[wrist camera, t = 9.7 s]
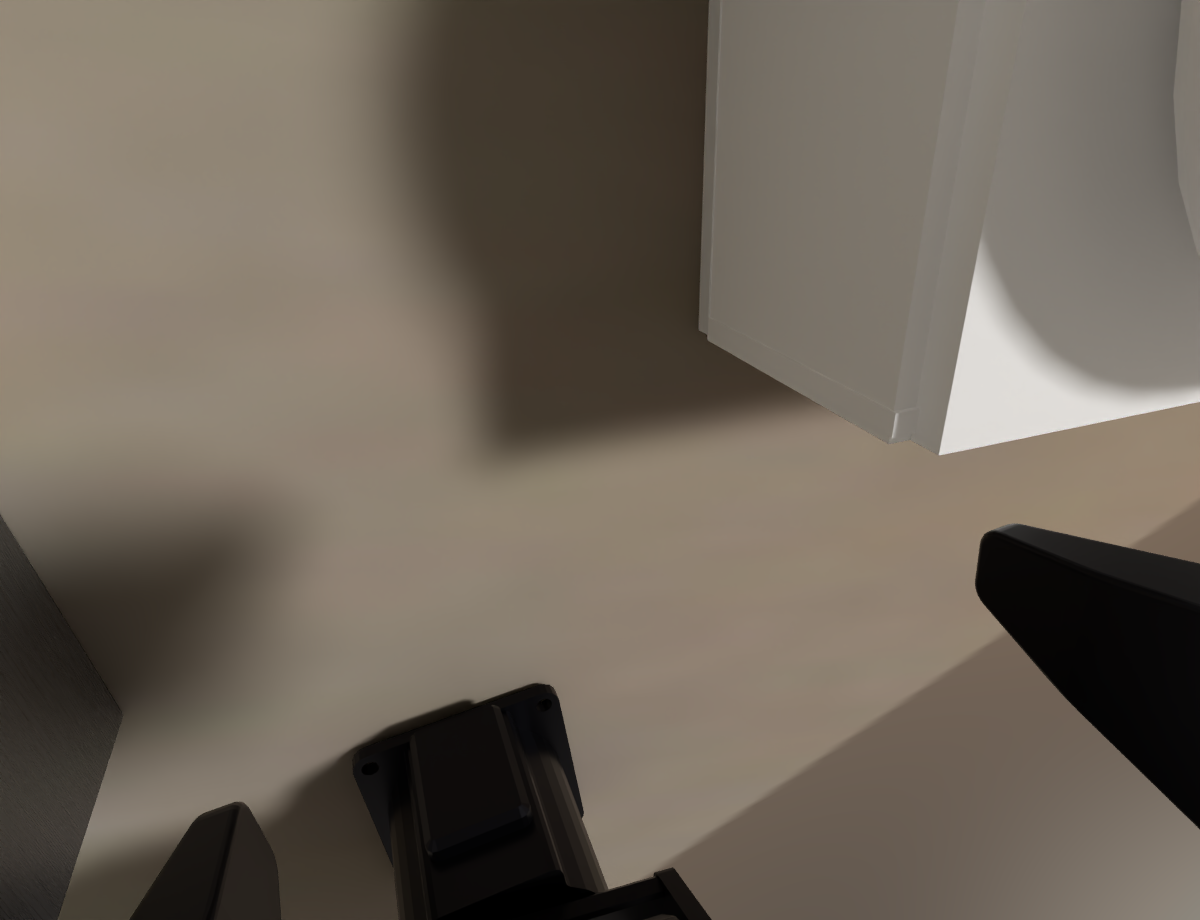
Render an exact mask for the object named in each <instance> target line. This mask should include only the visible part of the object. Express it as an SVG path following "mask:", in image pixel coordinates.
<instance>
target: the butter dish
mask: <svg viewBox="0 0 1200 920" xmlns="http://www.w3.org/2000/svg"><path fill="white" fill-rule="evenodd" d="M699 331H701V332H703V333H705V334H706V335H707V340H708V341H709V342H711V343H713V344H715V345H716V346H718V347H720V348H722V349H723V350H725V351H727V352H729V353H730V354H732V355H734V356H736V357H737V358H739V359H741V360H743V361H744V362H746V363H748V364H750V365H751V366H753V367H755V368H757V369H758V370H760V371H762V372H764V373H765V374H767V375H769V376H771V377H772V378H774V379H776V380H777V381H779V382H781V383H783V384H784V385H786V386H788V387H790V388H791V389H793V390H795V391H797V392H798V393H800V394H802V395H804V396H805V397H807V398H809V399H811V400H812V401H814V402H816V403H818V404H819V405H821V406H823V407H825V408H826V409H828V410H830V411H832V412H833V413H835V414H837V415H839V416H840V417H842V418H844V419H845V420H847V421H849V422H851V423H852V424H854V425H856V426H858V427H859V428H861V429H863V430H865V431H866V432H868V433H870V434H872V435H873V436H875V437H877V438H879V439H880V440H882V441H884V442H886V443H887V444H892V443H897V442H902V441H907V440H911V441H913V442H915V443H917V444H919V445H920V446H922V447H924V448H926V449H928V450H930V451H931V452H933V453H935V454H937V455H944V454H948V453H953V452H958V451H963V450H968V449H973V448H978V447H982V446H987V445H992V444H997V443H1002V442H1007V441H1012V440H1017V439H1021V438H1026V437H1031V436H1036V435H1041V434H1046V433H1051V432H1055V431H1060V430H1065V429H1070V428H1075V427H1080V426H1085V425H1089V424H1094V423H1099V422H1104V421H1109V420H1114V419H1119V418H1123V417H1128V416H1133V415H1138V414H1143V413H1148V412H1153V411H1158V410H1162V409H1167V408H1172V407H1177V406H1182V405H1187V404H1192V403H1196V402H1200V0H709V15H708V47H707V79H706V110H705V142H704V173H703V205H702V237H701V268H700V300H699Z"/></svg>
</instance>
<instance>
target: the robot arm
mask: <svg viewBox="0 0 1200 920" xmlns="http://www.w3.org/2000/svg"><path fill="white" fill-rule="evenodd" d="M975 587H976V591H977V594H978V596H979V598H980V600H981V601H982V603H983V604H984V605H985V606H986V608H987V609H988V610H989V611H990V612H991V613H992V614H993V616H994V617H995V618H996V619H997V620H998V621H999V623H1000V624H1001V625H1002V626H1003V627H1004V628H1005V630H1006V631H1007V632H1008V633H1009V634H1010V635H1011V636H1012V638H1013V639H1014V640H1015V641H1016V642H1017V643H1018V645H1019V646H1020V647H1021V648H1022V649H1023V650H1024V651H1025V653H1026V654H1027V655H1028V656H1029V657H1030V659H1032V661H1033V662H1034V663H1035V664H1036V665H1037V667H1038V668H1039V669H1040V670H1041V671H1042V672H1043V674H1044V675H1045V676H1046V677H1047V678H1048V679H1049V680H1050V681H1051V683H1052V684H1053V685H1054V686H1055V687H1056V688H1057V689H1058V690H1059V692H1060V693H1061V694H1062V695H1063V696H1064V697H1065V698H1066V699H1067V700H1068V701H1069V702H1070V703H1071V704H1072V705H1073V706H1074V707H1075V708H1076V709H1077V710H1078V711H1079V712H1080V713H1081V714H1082V715H1083V716H1084V717H1085V718H1086V719H1087V720H1088V721H1089V722H1090V723H1091V724H1092V725H1093V726H1094V727H1095V728H1096V729H1097V730H1098V731H1099V732H1100V733H1101V734H1102V735H1103V736H1104V737H1105V738H1106V739H1107V740H1109V742H1110V743H1112V744H1113V745H1114V746H1115V747H1116V748H1117V749H1118V750H1119V751H1120V752H1121V753H1122V754H1123V755H1124V756H1125V757H1126V758H1127V759H1128V760H1129V761H1130V762H1131V763H1132V764H1133V765H1134V766H1135V767H1136V768H1137V769H1138V770H1139V771H1140V772H1142V774H1144V776H1145V777H1146V778H1148V779H1149V780H1150V781H1151V782H1152V783H1153V784H1154V785H1155V786H1156V787H1157V788H1158V789H1159V790H1160V791H1161V792H1162V793H1163V794H1164V795H1165V796H1166V797H1167V798H1168V799H1169V800H1170V801H1171V802H1172V803H1173V804H1174V805H1176V807H1177V808H1178V809H1179V810H1180V811H1182V812H1183V814H1185V815H1186V816H1187V817H1188V818H1189V819H1190V820H1191V821H1192V822H1193V823H1194V824H1195V825H1196V826H1197V827H1198V828H1199V829H1200V564H1199V563H1195V562H1190V561H1185V560H1181V559H1177V558H1172V557H1167V556H1163V555H1158V554H1153V553H1149V552H1145V551H1140V550H1136V549H1131V548H1127V547H1122V546H1118V545H1113V544H1108V543H1104V542H1099V541H1095V540H1090V539H1086V538H1081V537H1077V536H1072V535H1068V534H1063V533H1058V532H1054V531H1049V530H1045V529H1040V528H1036V527H1031V526H1027V525H1022V524H1008V525H1005V526H1002V527H1000V528H997V529H994V530H991V531H989V532H987V533H986V534H984V536H983V537H982V539H981V542H980V548H979V556H978V563H977V571H976V578H975ZM543 699H547V700H546V701H544V702H542V703H538V702H539V701H541V700H543ZM370 762H374V764H372V765H365V764H367V763H370ZM352 763H353V775H354V777H355V780H356V782H357V784H358V787H359V789H360V791H361V794H362V796H363V798H364V801H365V803H366V805H367V807H368V810H369V812H370V814H371V817H372V819H373V821H374V824H375V826H376V828H377V831H378V833H379V835H380V838H381V840H382V842H383V845H384V847H385V849H386V852H387V854H388V856H389V859H390V861H391V863H392V865H393V868H394V877H395V887H396V897H397V907H398V917H399V920H711V918H710V917H709V916H708V915H707V913H706V912H705V910H704V909H703V907H702V906H701V905H700V903H699V902H698V901H697V899H696V898H695V896H694V895H693V894H692V893H691V891H690V890H689V888H688V887H687V886H686V884H685V883H684V881H683V880H682V879H681V877H680V876H679V874H678V873H677V872H676V870H675V869H674V868H669V869H665V870H662V871H658V872H655V873H654V876H653V877H651V878H647V879H644V880H640V881H637V882H633V883H630V884H626V885H623V886H620V887H616V888H613V889H609V890H608V887H607V884H606V882H605V879H604V876H603V874H602V871H601V868H600V866H599V863H598V860H597V858H596V855H595V852H594V850H593V847H592V845H591V842H590V839H589V837H588V834H587V831H586V829H585V826H584V823H583V821H582V817H583V814H584V811H583V806H582V802H581V797H580V793H579V788H578V784H577V779H576V775H575V770H574V766H573V761H572V757H571V752H570V748H569V743H568V738H567V734H566V729H565V725H564V720H563V716H562V711H561V707H560V702H559V699H558V696H557V694H556V692H555V690H554V688H553V687H552V686H550V685H545V684H543V685H538V686H535V687H533V688H530V689H527V690H524V691H521V692H519V693H516V694H513V695H510V696H507V697H505V698H502V699H499V700H496V701H493V702H491V703H488V704H485V705H482V706H479V707H477V708H474V709H471V710H468V711H465V712H463V713H460V714H457V715H454V716H451V717H449V718H446V719H443V720H440V721H437V722H435V723H432V724H429V725H426V726H423V727H421V728H418V729H415V730H412V731H409V732H407V733H404V734H401V735H398V736H395V737H393V738H390V739H387V740H384V741H381V742H379V743H376V744H373V745H370V746H367V747H365V748H363V749H361V750H359V751H358V752H357V753H356V754H355V755H354V757H353V760H352ZM130 920H281V910H280V895H279V881H278V870H277V864H276V860H275V857H274V854H273V851H272V849H271V847H270V845H269V843H268V841H267V840H266V838H265V836H264V834H263V832H262V831H261V829H260V827H259V825H258V823H257V821H256V820H255V818H254V816H253V814H252V812H251V810H250V809H249V807H248V806H247V805H246V804H245V803H243V802H233V803H231V804H228V805H225V806H222V807H220V808H217V809H214V810H211V811H208V812H206V813H203V814H201V815H200V816H198V817H197V819H196V820H195V821H194V822H193V823H192V824H191V826H190V827H189V829H188V830H187V832H186V833H185V835H184V837H183V838H182V840H181V841H180V843H179V844H178V846H177V847H176V849H175V850H174V852H173V853H172V855H171V857H170V858H169V860H168V861H167V863H166V864H165V866H164V867H163V869H162V870H161V872H160V873H159V875H158V877H157V878H156V880H155V881H154V883H153V884H152V886H151V887H150V889H149V890H148V892H147V894H146V895H145V897H144V898H143V900H142V901H141V903H140V904H139V906H138V907H137V909H136V910H135V912H134V914H133V915H132V917H131V918H130Z"/></svg>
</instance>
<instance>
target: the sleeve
mask: <svg viewBox="0 0 1200 920" xmlns="http://www.w3.org/2000/svg"><path fill="white" fill-rule="evenodd" d="M122 718H123V714H122V712H121V711H120V709H119V707H118V706H117V704H116V702H115V701H114V699H113V698H112V696H111V694H110V693H109V691H108V689H107V688H106V686H105V685H104V683H103V681H102V680H101V678H100V676H99V675H98V673H97V672H96V670H95V668H94V667H93V665H92V663H91V662H90V660H89V658H88V657H87V655H86V654H85V652H84V650H83V649H82V647H81V645H80V644H79V642H78V641H77V639H76V637H75V636H74V634H73V632H72V631H71V629H70V628H69V626H68V624H67V623H66V621H65V619H64V618H63V616H62V615H61V613H60V611H59V610H58V608H57V606H56V605H55V603H54V601H53V600H52V598H51V597H50V595H49V593H48V592H47V590H46V588H45V587H44V585H43V584H42V582H41V580H40V579H39V577H38V575H37V574H36V572H35V571H34V569H33V567H32V566H31V564H30V562H29V561H28V559H27V557H26V556H25V554H24V553H23V551H22V549H21V548H20V546H19V544H18V543H17V541H16V540H15V538H14V536H13V535H12V533H11V531H10V530H9V528H8V527H7V525H6V523H5V522H4V520H3V518H2V517H1V515H0V920H57V919H58V916H59V913H60V910H61V907H62V904H63V901H64V898H65V894H66V891H67V888H68V885H69V882H70V879H71V876H72V873H73V870H74V867H75V863H76V860H77V857H78V854H79V851H80V848H81V845H82V842H83V839H84V836H85V833H86V829H87V826H88V823H89V820H90V817H91V814H92V811H93V808H94V805H95V802H96V798H97V795H98V792H99V789H100V786H101V783H102V780H103V777H104V774H105V771H106V768H107V764H108V761H109V758H110V755H111V752H112V749H113V746H114V743H115V740H116V737H117V734H118V730H119V727H120V724H121V721H122Z"/></svg>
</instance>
